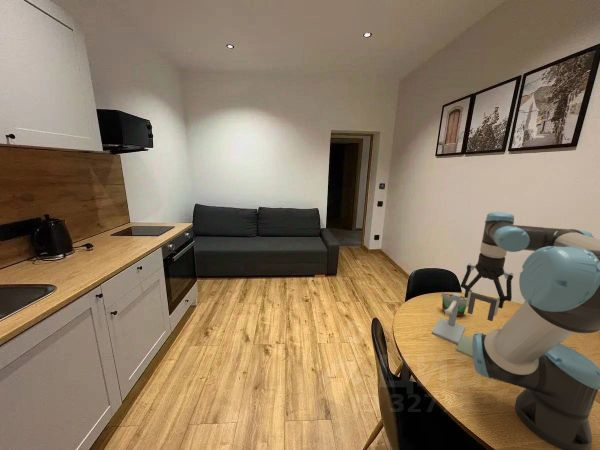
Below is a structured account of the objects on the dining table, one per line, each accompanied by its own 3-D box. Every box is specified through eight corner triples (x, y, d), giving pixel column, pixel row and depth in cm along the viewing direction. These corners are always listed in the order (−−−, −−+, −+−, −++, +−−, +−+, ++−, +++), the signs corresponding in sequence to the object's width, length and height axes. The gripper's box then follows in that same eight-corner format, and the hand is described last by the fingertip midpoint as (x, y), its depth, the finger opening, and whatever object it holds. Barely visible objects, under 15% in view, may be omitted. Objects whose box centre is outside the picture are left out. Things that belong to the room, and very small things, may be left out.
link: (492, 321, 90) (496, 301, 88) (467, 312, 96) (470, 293, 94) (492, 319, 92) (497, 299, 90) (468, 311, 97) (471, 291, 95)
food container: (441, 316, 118) (444, 297, 116) (438, 309, 124) (441, 291, 121) (470, 321, 114) (474, 302, 112) (466, 313, 120) (469, 295, 118)
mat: (486, 363, 89) (487, 362, 89) (455, 350, 96) (455, 348, 96) (490, 346, 98) (491, 345, 98) (462, 335, 104) (462, 334, 104)
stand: (457, 345, 98) (463, 311, 95) (430, 334, 105) (435, 301, 101) (464, 328, 109) (470, 297, 105) (440, 319, 115) (445, 289, 112)
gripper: (531, 259, 83) (517, 316, 89) (461, 245, 97) (452, 296, 103) (531, 265, 78) (516, 326, 83) (456, 250, 92) (448, 303, 97)
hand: (481, 309), depth 93 cm, fingers closed on link, 8 cm apart
